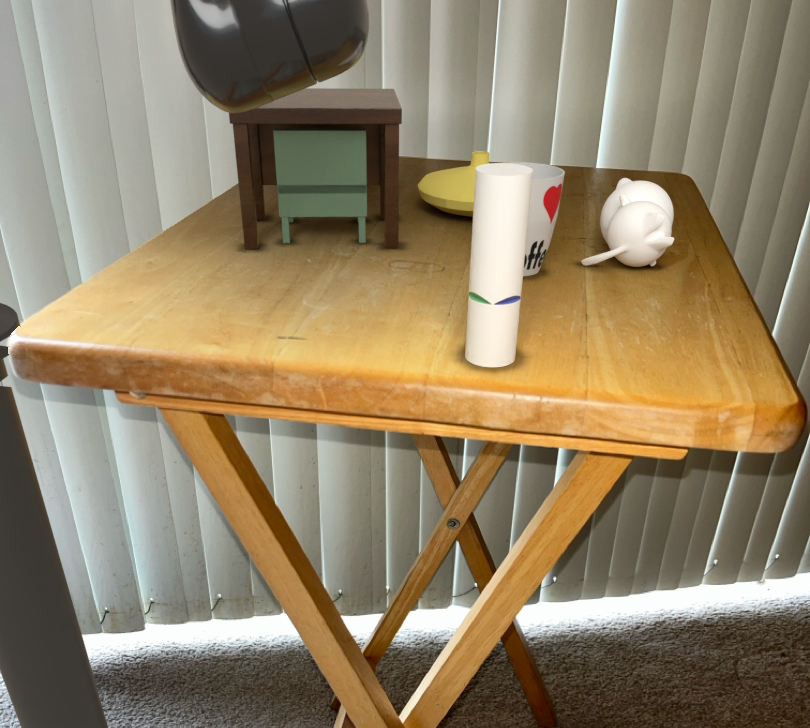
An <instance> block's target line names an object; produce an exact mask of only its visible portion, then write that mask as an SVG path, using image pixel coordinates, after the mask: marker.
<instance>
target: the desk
mask: <svg viewBox="0 0 810 728" xmlns="http://www.w3.org/2000/svg"><path fill="white" fill-rule="evenodd" d="M228 119H229V124H231V125H232V131H233V132H232V133H233V143H234V152H235V161H236V162H235V163H236V170H237V171H236V172H237V182H238V193H239V203H240V204H239V205H240V213H241V222H242V223H241V224H242V234H243V243H244V244H243V245H244V246H243V247H244V249H245V250H258V249H259V247H260V241H259V230H258V229H259V228H258V221H265V220H266V217H267V214H266V202H265V191H264V190H265V189H264V186H277V177H276V163H275V149H274V136H273V130H274V129H366V163H367V186H379V218H380V220H384V248H385V249H399V217H400V216H399V204H400V199H399V197H400V191H399V190H400V125H402V124H403V109H402V106H401V102H400V100H399V98H398V96H397V92H396V90H395V88H327V87H325V88H322V87H321V88H319V87H318V88H317V87H316V88H313V87H311V88H310V87H308V88H305V89H303V90H300V91H298V92H295V93H293V94H290V95H288V96H285V97H283V98H280V99H278V100H274V101H273V102H270V103H268V104H265V105H263V106H261V107H258V108H256V109H253V110H250V111H247V112H243V113H237V114H236V113H228Z"/></svg>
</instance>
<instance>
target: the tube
mask: <svg viewBox="0 0 810 728" xmlns="http://www.w3.org/2000/svg"><path fill="white" fill-rule="evenodd" d="M532 176H533V169H532V168H530V167H527V166H524V165H519V164H511V163H507V162H491V163H490V162H489V164H483V165H480V166H477V167H476V173H475V191H474V208H473V216H472V225H471V230H472V231H471V242H470V243H471V244H470V263H469V277H468V278H469V279H468V298H467V312H466V313H467V315H466V331H465V350H464V358H465V360H466V361H467V362H469V363H470V364H473V365H475V366H478V367H482V368H501V367H506V366H509V365H512V364H513V363H514V362H515V361H516V355H517V342H518V331H519V323H520V312H521V301H522V288H523V280H524V279H523V278H524V276H523V271H524V260H525V249H526V239H527V228H528V218H529V207H530V197H531V186H532Z"/></svg>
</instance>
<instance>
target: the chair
mask: <svg viewBox="0 0 810 728" xmlns="http://www.w3.org/2000/svg"><path fill="white" fill-rule="evenodd" d="M273 136H274V149H275V163H276V177H277V185H276V189H277V203H278V217H279V218H281V231H282V234H281V235H282V244H291V232H290V223H294V218H345V217H346V218H349V217H350V218H352V217H353V218H356V221H357V223H358V243H359V244H366V242H367V234H366V233H367V232H366V231H367V230H366V218H367V217H368V185H367V163H366V129H274V130H273Z"/></svg>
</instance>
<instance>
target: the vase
mask: <svg viewBox="0 0 810 728" xmlns="http://www.w3.org/2000/svg"><path fill="white" fill-rule="evenodd" d="M470 157H471V158H470V164H469V165H467V166H459V167H452V168H446V169H441V170H436V171H433V172H429V173H427V174H424V176H423V177H422V178H421V180H420V181H419V182H418V184H417V188H418V192H419V195H420V198H421V199H422V200H423V201H425V202H426V203H428V204H430V205H431V206H433V207H435V208H436V209H438V210H440V211H441V212H445V213H448V214H451V215H457V216H462V217H463V216H464V217H473V208H474V191H475V173H476V167H477V166H480V165H483V164H490V152H489V151H486V150H475V151H472V152H471V155H470Z"/></svg>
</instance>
